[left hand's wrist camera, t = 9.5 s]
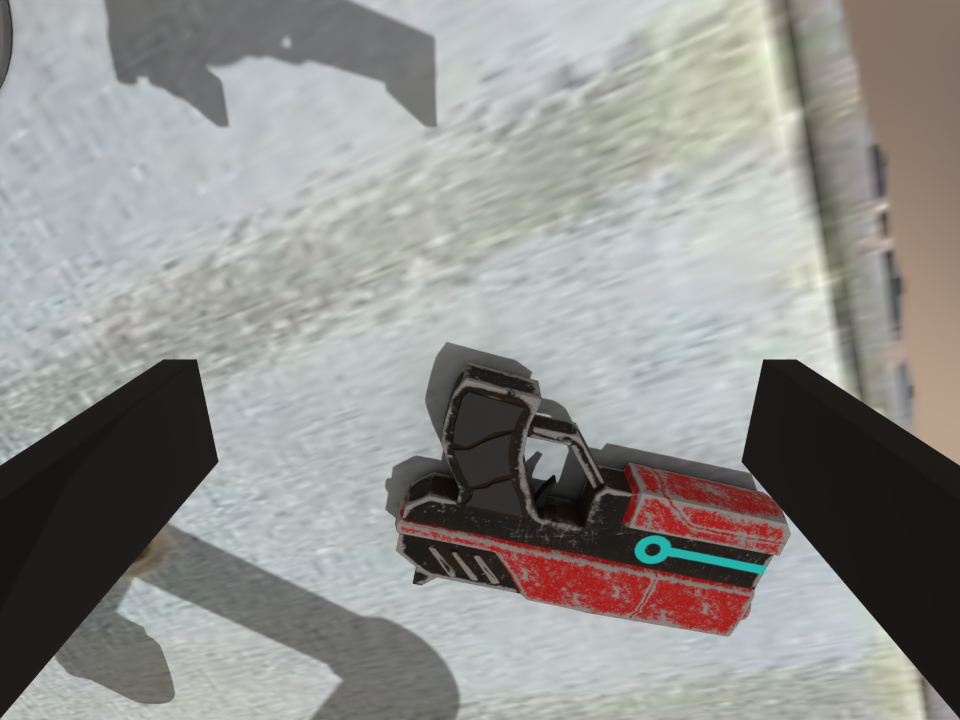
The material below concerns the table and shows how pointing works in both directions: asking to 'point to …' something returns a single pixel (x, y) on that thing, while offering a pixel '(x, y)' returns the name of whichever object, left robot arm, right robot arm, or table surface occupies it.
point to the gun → (582, 521)
